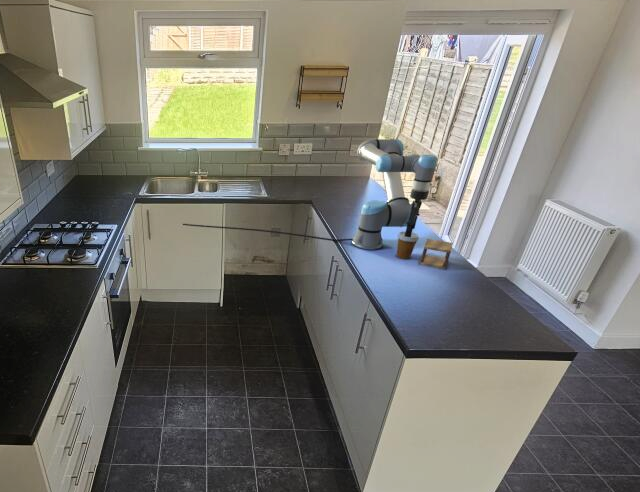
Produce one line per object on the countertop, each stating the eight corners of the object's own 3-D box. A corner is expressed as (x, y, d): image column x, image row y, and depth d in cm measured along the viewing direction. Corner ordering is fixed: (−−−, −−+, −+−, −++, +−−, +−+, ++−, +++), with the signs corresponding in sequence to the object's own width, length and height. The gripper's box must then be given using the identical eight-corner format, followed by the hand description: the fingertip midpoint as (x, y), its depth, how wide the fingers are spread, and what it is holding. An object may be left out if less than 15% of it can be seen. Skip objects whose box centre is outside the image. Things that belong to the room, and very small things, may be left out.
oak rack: (419, 264, 213) (424, 246, 209) (422, 256, 222) (427, 238, 217) (445, 269, 208) (451, 250, 203) (447, 260, 217) (452, 242, 212)
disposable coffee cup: (401, 261, 216) (407, 238, 210) (389, 254, 224) (394, 232, 218) (417, 259, 218) (423, 236, 212) (404, 252, 226) (410, 230, 220)
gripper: (426, 197, 193) (414, 242, 204) (432, 184, 212) (420, 226, 222) (408, 195, 196) (397, 239, 207) (415, 182, 215) (405, 223, 226)
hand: (409, 232), depth 215 cm, fingers open, 13 cm apart
